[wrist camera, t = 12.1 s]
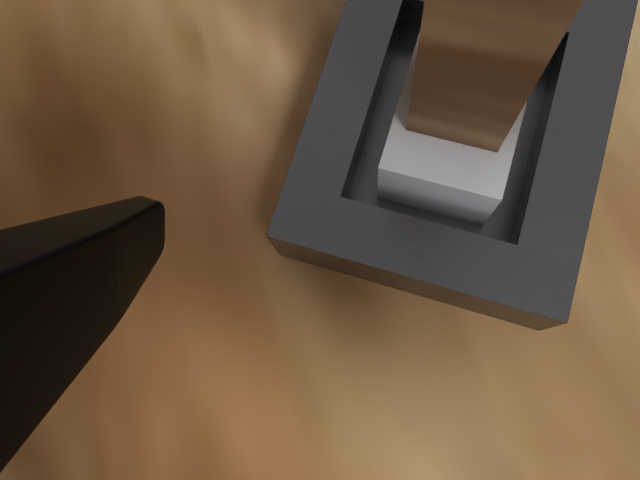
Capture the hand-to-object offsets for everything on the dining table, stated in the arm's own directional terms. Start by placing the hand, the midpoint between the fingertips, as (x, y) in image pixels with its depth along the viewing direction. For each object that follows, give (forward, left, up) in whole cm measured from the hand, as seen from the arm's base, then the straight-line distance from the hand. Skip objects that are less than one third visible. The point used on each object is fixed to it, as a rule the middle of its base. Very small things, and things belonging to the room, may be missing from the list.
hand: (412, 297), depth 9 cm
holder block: (+3, +7, -12) cm, 14 cm away
